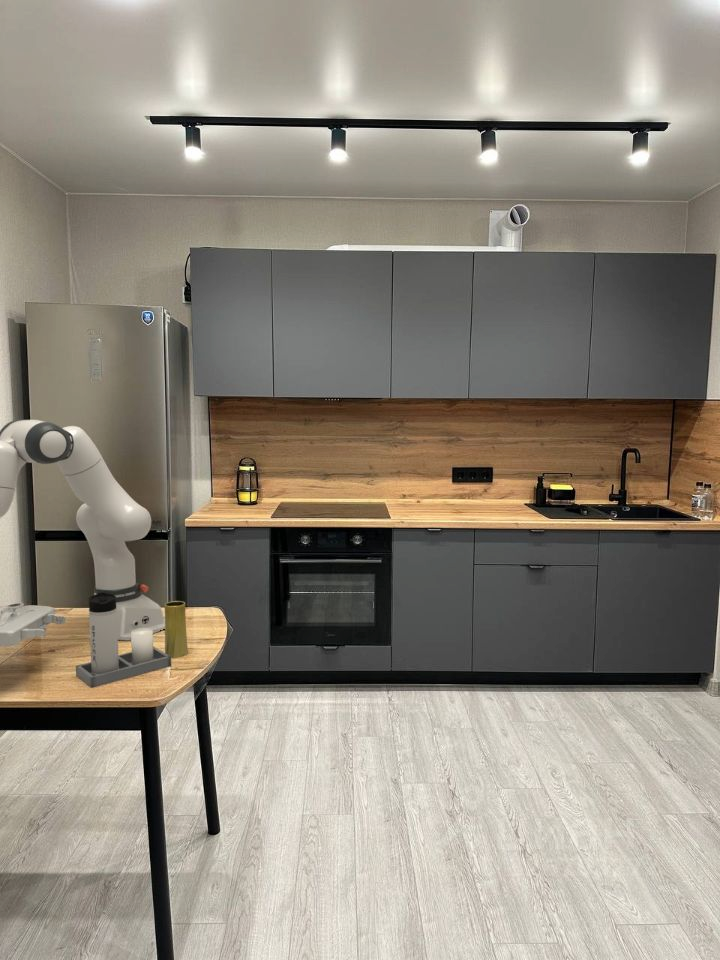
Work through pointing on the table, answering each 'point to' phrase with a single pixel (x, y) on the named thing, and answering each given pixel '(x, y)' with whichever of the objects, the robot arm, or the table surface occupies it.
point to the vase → (175, 629)
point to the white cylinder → (142, 645)
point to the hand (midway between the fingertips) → (54, 626)
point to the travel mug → (103, 633)
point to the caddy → (123, 669)
